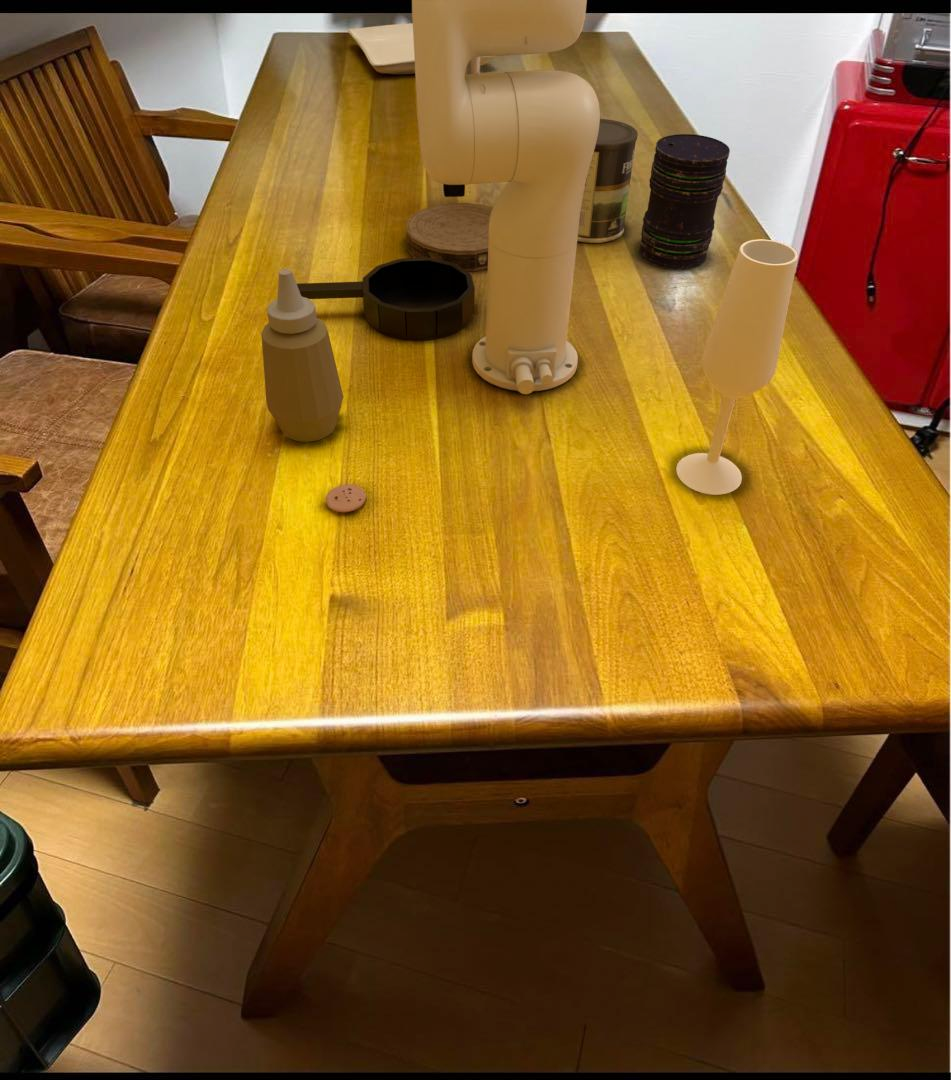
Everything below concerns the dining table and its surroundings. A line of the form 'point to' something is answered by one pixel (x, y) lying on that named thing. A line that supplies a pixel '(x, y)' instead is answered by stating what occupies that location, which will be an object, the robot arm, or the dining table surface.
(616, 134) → the coffee can
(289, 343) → the squeeze bottle
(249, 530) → the dining table surface
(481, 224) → the brown flat disc
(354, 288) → the frying pan
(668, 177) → the dark brown cylinder
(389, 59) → the square plate
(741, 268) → the champagne flute
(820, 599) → the dining table surface
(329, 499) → the cookie
